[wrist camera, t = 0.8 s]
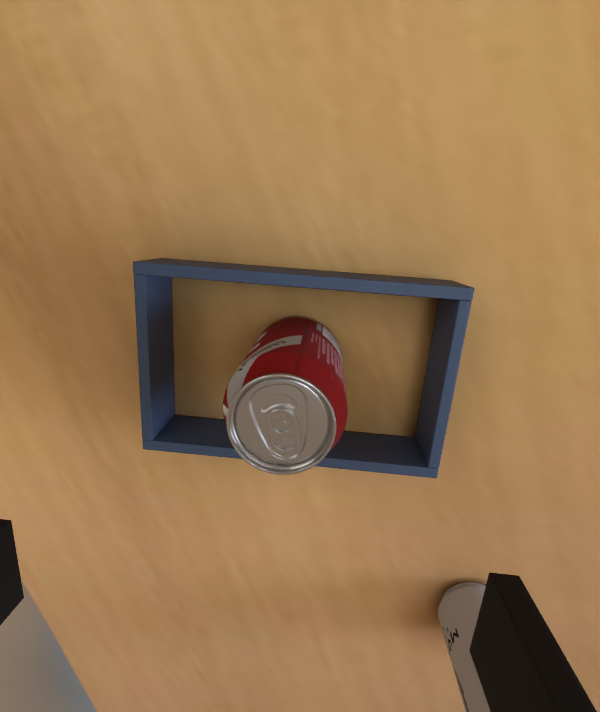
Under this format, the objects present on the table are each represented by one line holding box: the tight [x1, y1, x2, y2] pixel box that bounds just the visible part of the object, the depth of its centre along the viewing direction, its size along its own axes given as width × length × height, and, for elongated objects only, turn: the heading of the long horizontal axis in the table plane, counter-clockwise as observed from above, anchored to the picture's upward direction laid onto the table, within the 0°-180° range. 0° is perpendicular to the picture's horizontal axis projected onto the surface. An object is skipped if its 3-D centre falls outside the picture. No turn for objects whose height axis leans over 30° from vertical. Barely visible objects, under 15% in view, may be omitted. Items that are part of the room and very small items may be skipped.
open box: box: [133, 258, 474, 478], centre depth 29 cm, size 14×22×4 cm, turn 86°
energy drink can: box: [438, 582, 490, 712], centre depth 30 cm, size 6×6×15 cm
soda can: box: [223, 317, 347, 475], centre depth 25 cm, size 7×7×12 cm
